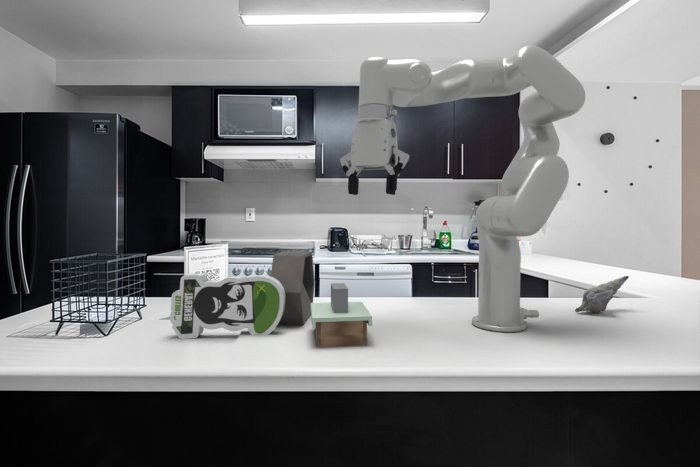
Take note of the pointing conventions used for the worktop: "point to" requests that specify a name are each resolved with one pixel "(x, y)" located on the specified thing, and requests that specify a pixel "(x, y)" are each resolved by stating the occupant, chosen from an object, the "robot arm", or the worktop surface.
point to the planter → (295, 285)
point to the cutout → (227, 304)
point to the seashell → (600, 296)
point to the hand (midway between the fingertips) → (371, 194)
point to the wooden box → (341, 333)
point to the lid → (339, 308)
